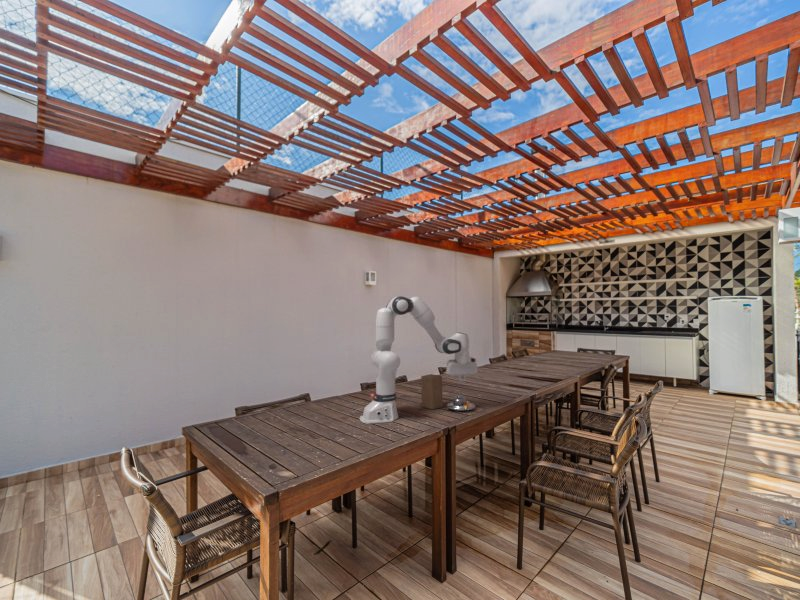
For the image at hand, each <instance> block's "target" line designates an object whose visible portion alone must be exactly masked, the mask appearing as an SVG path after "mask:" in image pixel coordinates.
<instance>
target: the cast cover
mask: <svg viewBox="0 0 800 600" xmlns="http://www.w3.org/2000/svg"><path fill="white" fill-rule="evenodd" d="M465 401H467V397H466V396H460V395H458V396H453V397H452V402H453V405H455V406H465Z"/></svg>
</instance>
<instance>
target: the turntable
mask: <svg viewBox="0 0 800 600" xmlns="http://www.w3.org/2000/svg"><path fill="white" fill-rule="evenodd" d="M446 408H447V409H450V410H453V411H471V410H473V409H475V408H476V405H475V403H472V402H470V401H469V400H466V401H465V406H455V405H453V401H452V402H448V403H447V405H446Z"/></svg>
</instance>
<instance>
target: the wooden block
mask: <svg viewBox="0 0 800 600" xmlns="http://www.w3.org/2000/svg"><path fill="white" fill-rule="evenodd" d="M420 383H421V385H420V386H421V390H420V394H421V407H422V408H424V409H425V408H426V409H429V410H431V411H432V410H435V409H440V408H442V407H443V406H444V405H443V376H442V375H440V374H433V373H432V374H431V373H430V374H425V375H421V376H420Z"/></svg>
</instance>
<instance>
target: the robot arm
mask: <svg viewBox="0 0 800 600" xmlns="http://www.w3.org/2000/svg"><path fill="white" fill-rule="evenodd" d="M406 314H410V315H411V316H412V317H413V318H414V321H416V322H417V324H418V325H420V326H421V327H422V328H423V329H424V330H425V331H426V332H427V334H428V335H429V336H430V338H431V339H432V341H433V343H434V347H435V350H437V352H438V353H441V354H447V355H452V354H453V355H454V359H448V360H447V361H446V369H445V370H446V372H445V373H446V375H448V376H457V377H458V382H459V383H464V382H465V381H466V378H467V375H475V374H478V363H477V361H478V360H477V358H475V357H472V356H470V351H469V349H470V340H469V339H470V338H469V335H468V334H467V333H465V332H464V333H463V332H458V331H457V332H455V333H454V334H453V335H451V336H449V337H445V335H443V334H441V332H440V331H439V329H438V328H437V326H436V324H435V320H436V317H435V314H434V312H433V310H432V309H431V308H430V306H429V305H428V304H427V303H425V301H424V300H423V299H422V298H420V297H419V296H412V297H411V298H408V297H405V296H400V295H399V296H394V297H392V298H390V300H389V301H388V303H387V305H386V306H385V307H382V308H380V309H378V310H377V312H376V315H375V316H376V317H375V342H374V346H373V351H372V353H371V356H370V361H371V363H372V365H373V366H375V367H376V368H379V369H378V376H377V377H376V379H375V380H376V381H375V388H376V389H375V390H376V391H375V394H374V393H371V394H370V397H371V398H372V401H370V403H368V404H367V405H366V406H365V407H364V409H363V413H362V415H360V416H359V421H360V422H362V423H364V424H366V425H367V424H369V425H370V424H381V423H392V422H394V421H395V420H397V419H399V418H400V417H399V414H398V410H397V392H396V377H397V373H398V372H397V371H398V368H399V367H400V365H401V358H400V356H399V355H398V354H397V353H396V352H395V351H392V346H393V343H394V342H395V319H396V317H397V316H401V315H406Z"/></svg>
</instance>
